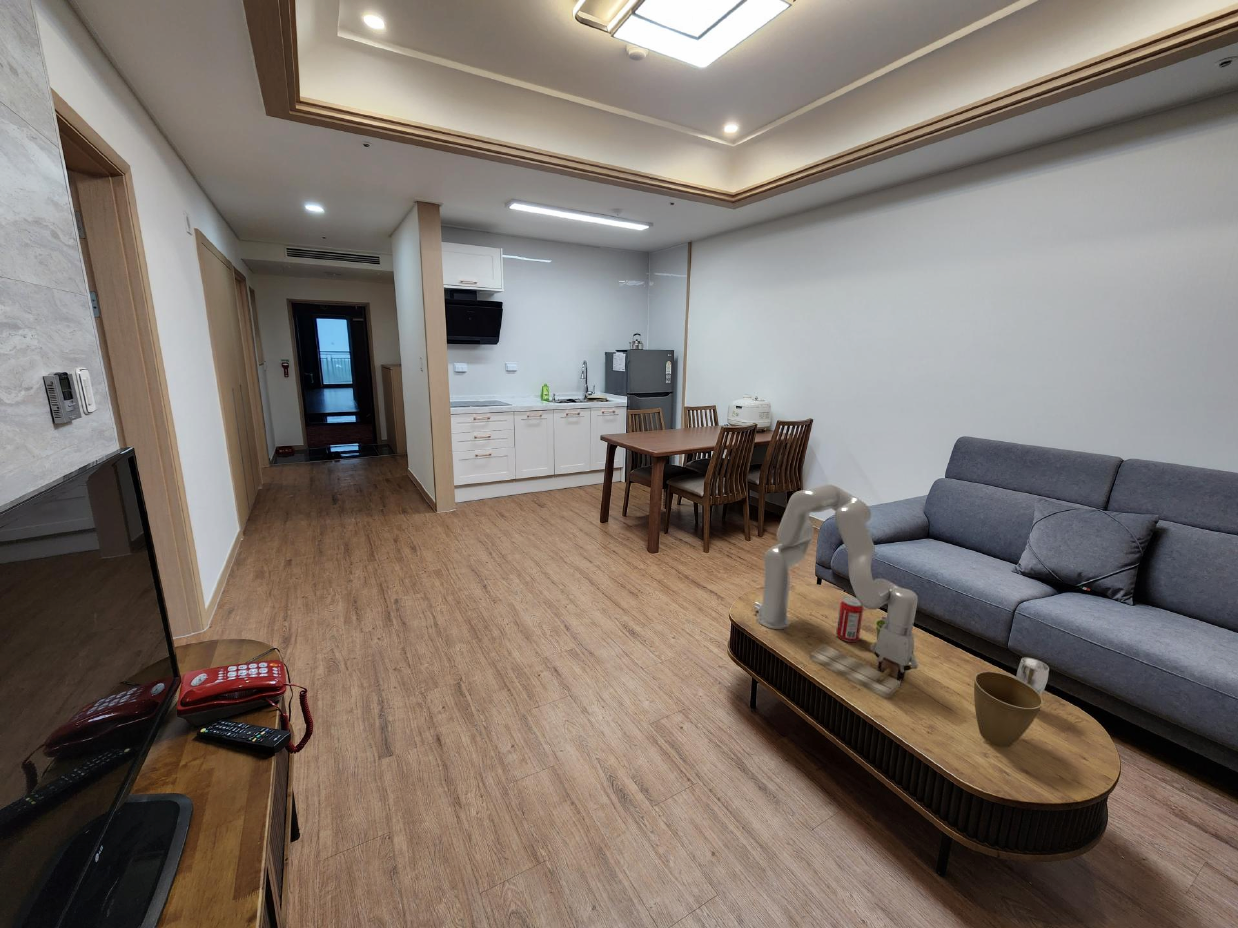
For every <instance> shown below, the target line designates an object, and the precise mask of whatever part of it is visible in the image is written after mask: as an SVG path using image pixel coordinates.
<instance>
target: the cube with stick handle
mask: <svg viewBox="0 0 1238 928" xmlns="http://www.w3.org/2000/svg"><path fill="white" fill-rule="evenodd" d="M899 670H900V666H899V664H898V663H896V662H894V661H891V660H889V659H887V658H884V659H883V660H882V665H881V671H880V672H882V674H881V675H880V676H879V677H878V678H877V681H879V682H881V683H882V682H883V679H884V678H885V677H887V676H890V677H892V678H894V679H896V680H897V675H898V671H899Z"/></svg>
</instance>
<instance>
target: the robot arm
mask: <svg viewBox="0 0 1238 928" xmlns="http://www.w3.org/2000/svg"><path fill="white" fill-rule="evenodd" d="M827 510H828V511H829V510H833V511H834V516H833V517H834V518H833V519H834V522H835V524H836V527H837V528H838V529H837V530H838V531H839V534H840V536H841V539H842V543H843V545H844V547H845V549H846V552H847V554H848V555H847V556H848V563H847V564H848V566H847V567H848V576H849V581H850V585H851V586H852V590H853V592H854V595H855V598H856V599H858V600H859V602H860V603H861V604H862V605H863V607H864V608H866V609H868V610H877V609H880V608H881V607H882V606H884V605H886V604H887V605H888V608H887V612H886V616H882V617H881V619H882V621H884V622H885V624H884V625H883V626H882V628H881V630H880V633H879V636H878V639H877V638H876V641H875V642H874V643H872V644H871V645H870V646H869V647H870V649H871V651H872V652H873V653H874V654H875V655H874V656H875V657H876V659H877V661H878V664H877V670H878V671H881V665H882V660H883V659H884V658H887V659H889V660H891V661H894V662H896V663H898V664H899V666H900V670H899V671H898V675H897V680H898V681H900V682H901V681H903V680H904V678H905V673H906V672H908V671H911V670H916V669H918V668H919V664H918V662H917V660H916V659H915V657H914V649H915V635H914V633H913V629H914V622H915V617H916V611H917V608H918V607H917V605H918V600H919V599H918V595H917V594H916V592H914V591H912V590H911V589H907V588H903V587H900V586H898V585H897V584H895V583H893V582H891V581H889V580H887V579H885V578H875V579H873V575H872V562H873V558H874V556H875V550H876V547H875V544H874V542H873V540H872V537H871V534H870V532H869V529H868V527H867V523H868V522H869V521H870V519H871V518H872V511H871V509H870V507H869V505H867V504H866V503H865V502H864V501H862V500H861V499H860V498H858V497H856V496H855V495H852V494H851V493H849V492H847V491H845V490H844V489H842V488H840V487H838V486H835V485H832V484H824V485H822V486H818V487H814V488H811V489H803V490H799V491H798V490H797V491H796V492H794V493H793V494H792V495H791V496H790V498H789V500H788V503H787V505H786V508H785V511H784V513H783V516H782V517H781V521H780V524H779V526H778V529H777V530H776V539H777V542H778V544H775V545H773V546H771V547H769V548H768V549H767V551H766V552H765V554H764V556H763V557H764V558H763V563H764V580H763V581H764V582H763V583H764V584H763V592H762V600H761V601H762V602H761V603H760V602H758V601H754V604H753V609H754V610H756V611H758V613H756V620H757V621H758V623H759V624H761V625H763V626H764V627H766V628H769V629H775V630H781V629H783V630H784V629H786V628H788V627H789V626H790V624H791V619H790V618H789V617H788V615H787V613H788V606H789V599H790V597H789V596H790V588H791V576H790V571H789V570H790V568H792V567H793V566H795V565H797V564H799V563H800V562H802V561H803V560H804V558H805V556H806V554H807V552H808V549H809V547H810V544H811V542H812V540H813V536H814V532H815V529H814V526H813V524H812V521H810V519H809V518H810V513H811V514H812V513H822V512H825V511H827Z"/></svg>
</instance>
